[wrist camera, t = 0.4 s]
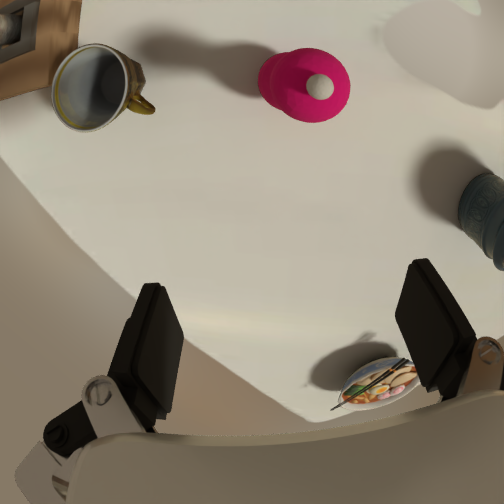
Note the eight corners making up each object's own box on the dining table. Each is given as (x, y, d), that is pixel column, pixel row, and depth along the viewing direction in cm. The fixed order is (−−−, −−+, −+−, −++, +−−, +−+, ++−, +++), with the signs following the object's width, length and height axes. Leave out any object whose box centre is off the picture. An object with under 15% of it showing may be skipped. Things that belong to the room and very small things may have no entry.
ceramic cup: (82, 102, 32) (41, 115, 24) (110, 39, 27) (70, 34, 19) (156, 136, 36) (129, 157, 27) (191, 71, 31) (170, 70, 23)
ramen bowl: (367, 395, 77) (372, 417, 70) (312, 382, 70) (316, 409, 63) (431, 349, 65) (441, 373, 58) (384, 327, 58) (395, 356, 51)
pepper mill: (252, 101, 33) (253, 128, 17) (263, 49, 29) (276, 21, 13) (307, 113, 34) (360, 153, 18) (319, 62, 30) (387, 55, 14)
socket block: (20, -9, 18) (-12, -11, 11) (88, -37, 19) (59, -50, 12) (13, 96, 29) (-21, 107, 22) (76, 80, 30) (42, 86, 23)
